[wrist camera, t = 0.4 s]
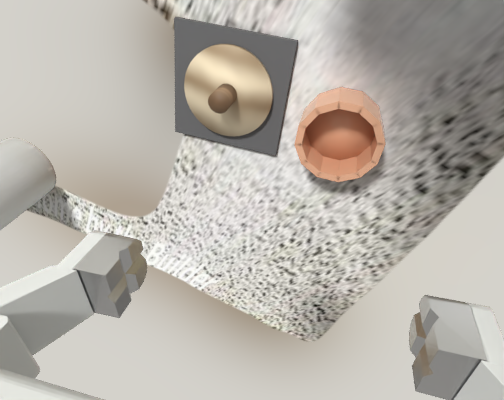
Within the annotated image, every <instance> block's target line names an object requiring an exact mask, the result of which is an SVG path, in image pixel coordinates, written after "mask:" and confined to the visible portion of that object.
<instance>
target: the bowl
mask: <svg viewBox="0 0 504 400" xmlns="http://www.w3.org/2000/svg"><path fill="white" fill-rule="evenodd" d="M384 147H385V135H384V127H383V122H382V118H381V113H380V109H379V106H378V105H377V104H376V103H375V102H374V101H373V100H372V99H371V98H370V97H369V96H367V95H366V94H365V93H364V92H363V91H358V90H353V89H349V88H344V87H339V88H336V89H333V90H330V91H326V92H323V93H320V94H319V95H318V96H317V97H316V98H315V99H314V100H313V101H312V102H311V103H310V104H309V105H308V106H307V107H306V108H305V110H304V112H303V115H302V118H301V120H300V123H299V127H298V131H297V136H296V140H295V148H296V150H297V153H298V156H299V159H300V161H301V164H302V165H303V166H305V167H306V168H307V169H308V170H309V171H311V172H312V173H313V174H314V175H315V176H316V177H319V178H323V179H327V180H331V181H335V182H341V181H346V180H351V179H356V178H360V177H362V176H363V175H364V174H365V173H367V172H368V171H369V170H371V169H372V168H373V167H374V166H376V165H377V164H378V162H379V159H380V157H381V154H382V152H383V149H384Z"/></svg>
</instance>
